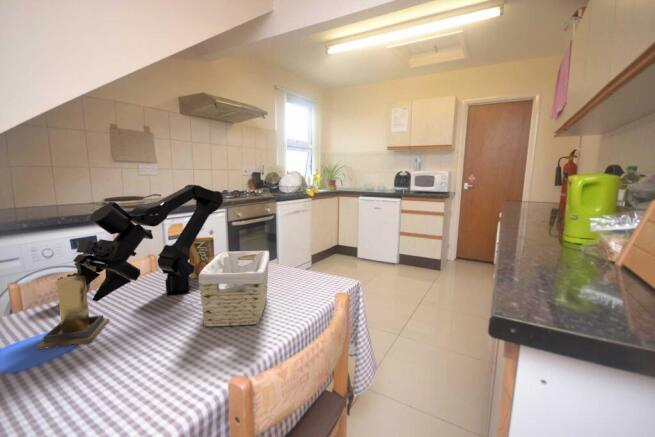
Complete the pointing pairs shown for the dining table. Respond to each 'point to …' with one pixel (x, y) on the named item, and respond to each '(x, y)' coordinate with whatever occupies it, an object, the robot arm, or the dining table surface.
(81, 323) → the billet
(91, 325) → the square brown tray
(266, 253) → the storage basket
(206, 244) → the candy box
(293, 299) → the dining table surface
